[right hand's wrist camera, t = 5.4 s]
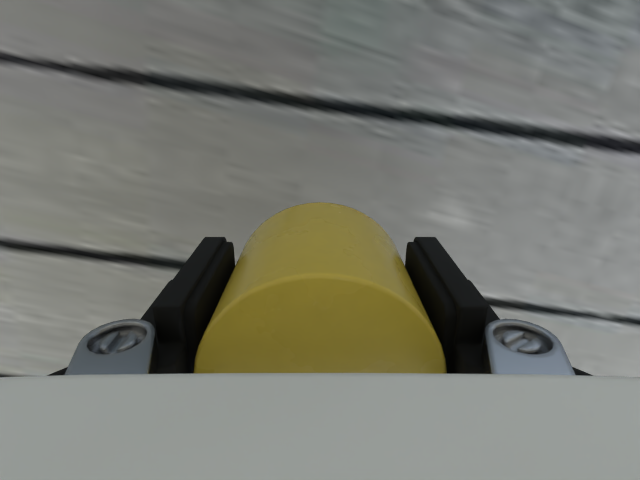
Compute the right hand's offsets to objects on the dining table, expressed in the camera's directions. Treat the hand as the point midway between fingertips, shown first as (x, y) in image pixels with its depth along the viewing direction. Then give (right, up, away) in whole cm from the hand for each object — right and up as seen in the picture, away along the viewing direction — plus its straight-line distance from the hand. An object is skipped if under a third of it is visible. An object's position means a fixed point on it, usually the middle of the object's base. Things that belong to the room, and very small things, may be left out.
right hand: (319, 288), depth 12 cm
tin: (0, 0, 0) cm, 0 cm away
